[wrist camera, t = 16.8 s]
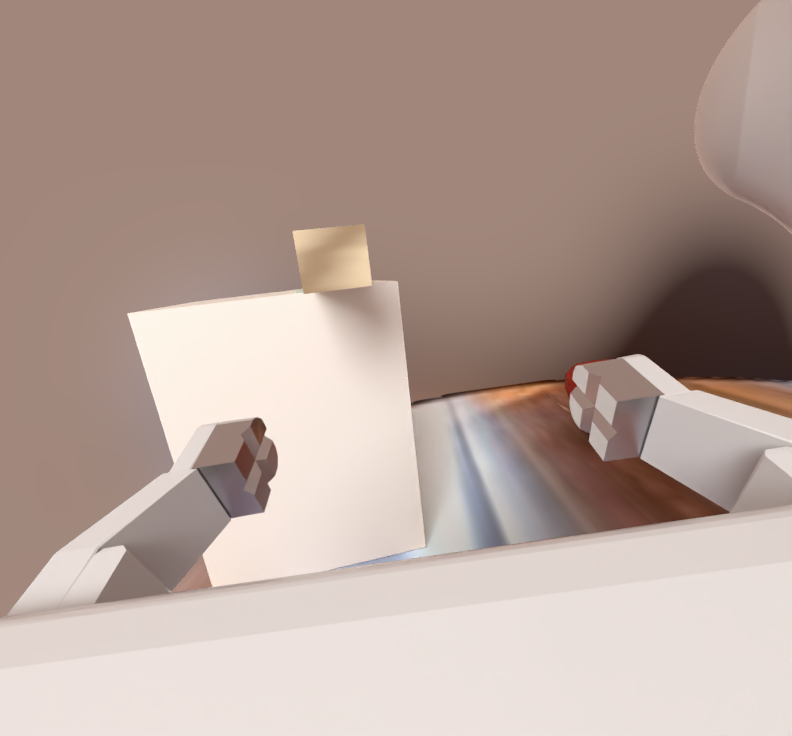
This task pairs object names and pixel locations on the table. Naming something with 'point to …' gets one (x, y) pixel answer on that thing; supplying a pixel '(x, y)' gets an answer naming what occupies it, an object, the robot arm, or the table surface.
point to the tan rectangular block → (333, 258)
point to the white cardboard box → (297, 420)
